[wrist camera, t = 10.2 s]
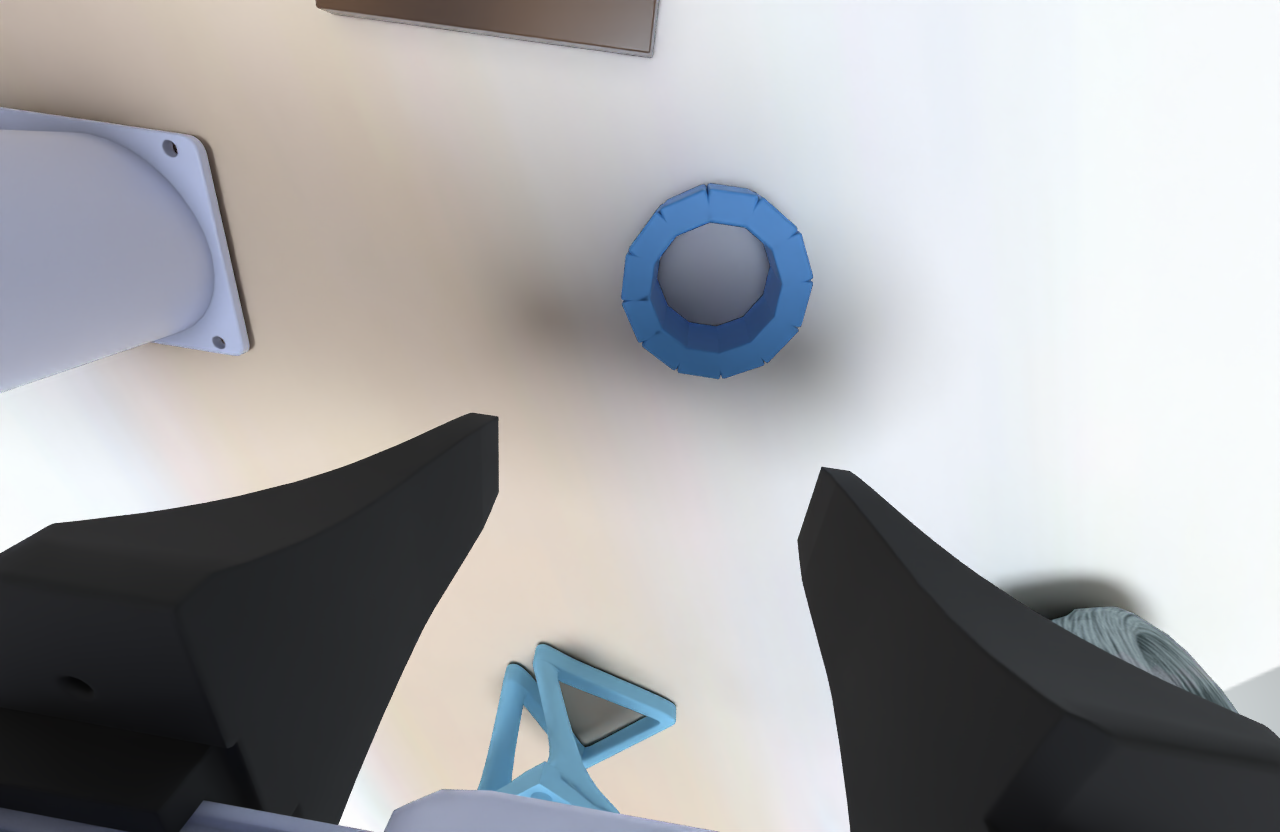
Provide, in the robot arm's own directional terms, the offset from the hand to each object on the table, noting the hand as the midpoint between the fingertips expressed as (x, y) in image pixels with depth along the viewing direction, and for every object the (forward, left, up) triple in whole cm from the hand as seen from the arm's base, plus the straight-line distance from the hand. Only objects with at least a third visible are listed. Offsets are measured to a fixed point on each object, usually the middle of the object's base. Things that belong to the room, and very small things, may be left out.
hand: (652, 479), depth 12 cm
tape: (+1, +3, -9) cm, 10 cm away
